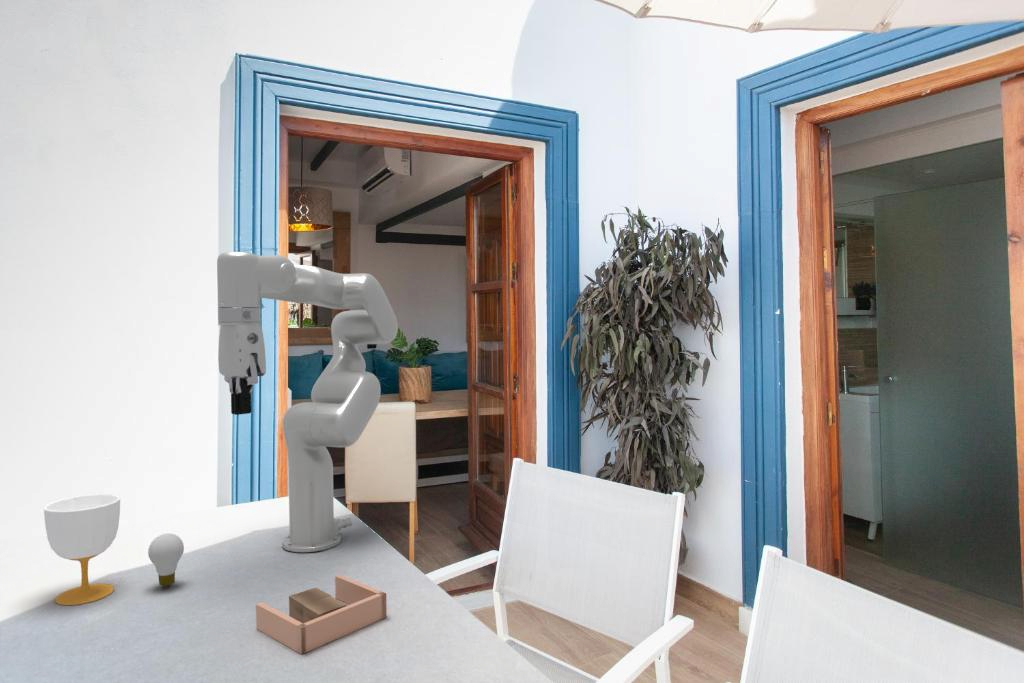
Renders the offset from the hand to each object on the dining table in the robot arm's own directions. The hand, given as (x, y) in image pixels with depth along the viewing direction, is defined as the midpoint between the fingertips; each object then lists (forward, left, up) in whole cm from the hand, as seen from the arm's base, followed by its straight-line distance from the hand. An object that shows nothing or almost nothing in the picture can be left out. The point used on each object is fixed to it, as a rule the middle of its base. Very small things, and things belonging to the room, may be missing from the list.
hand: (241, 413), depth 125 cm
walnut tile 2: (+1, +29, -32) cm, 43 cm away
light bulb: (+11, -8, -32) cm, 35 cm away
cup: (+22, -16, -32) cm, 42 cm away
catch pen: (+1, +28, -32) cm, 42 cm away
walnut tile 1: (+1, +23, -32) cm, 40 cm away
